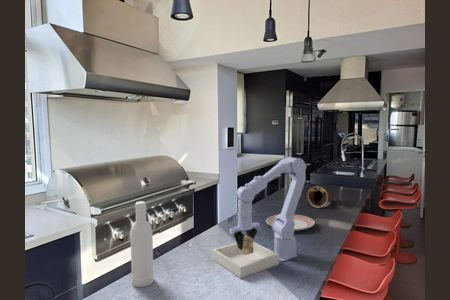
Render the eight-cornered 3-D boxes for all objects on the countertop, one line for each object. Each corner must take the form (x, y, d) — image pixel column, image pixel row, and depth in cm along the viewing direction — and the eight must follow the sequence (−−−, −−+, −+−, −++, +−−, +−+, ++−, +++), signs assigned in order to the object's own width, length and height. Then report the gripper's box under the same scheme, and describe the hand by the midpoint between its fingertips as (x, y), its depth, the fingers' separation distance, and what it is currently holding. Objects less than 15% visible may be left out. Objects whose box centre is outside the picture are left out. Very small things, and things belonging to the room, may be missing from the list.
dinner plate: (259, 229, 167) (259, 223, 167) (274, 216, 192) (274, 211, 191) (308, 237, 155) (309, 231, 154) (319, 222, 179) (319, 217, 179)
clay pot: (338, 186, 226) (327, 185, 206) (339, 206, 223) (328, 208, 203) (318, 186, 234) (306, 185, 214) (319, 206, 232) (307, 207, 212)
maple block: (246, 248, 129) (246, 235, 129) (253, 252, 126) (253, 238, 125) (238, 251, 127) (238, 237, 126) (244, 255, 123) (244, 241, 122)
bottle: (154, 275, 116) (152, 199, 114) (153, 286, 108) (151, 204, 106) (133, 277, 115) (130, 200, 112) (130, 288, 107) (127, 205, 104)
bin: (248, 248, 141) (248, 239, 140) (279, 264, 124) (279, 254, 124) (212, 259, 130) (212, 249, 129) (240, 278, 113) (240, 267, 113)
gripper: (252, 210, 133) (252, 240, 134) (225, 216, 125) (225, 248, 126) (263, 214, 127) (262, 245, 128) (235, 220, 119) (235, 253, 120)
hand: (244, 247), depth 126 cm, fingers closed on maple block, 4 cm apart
